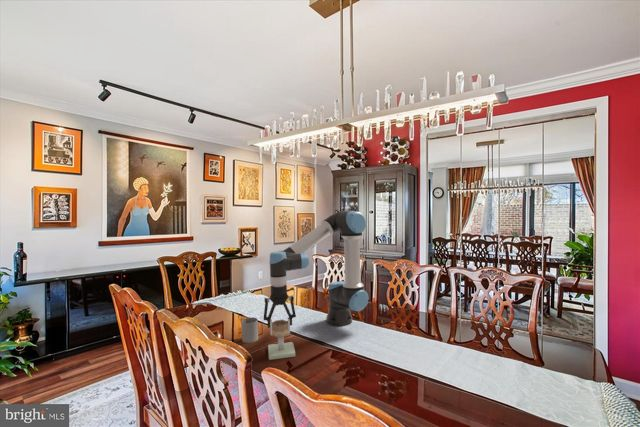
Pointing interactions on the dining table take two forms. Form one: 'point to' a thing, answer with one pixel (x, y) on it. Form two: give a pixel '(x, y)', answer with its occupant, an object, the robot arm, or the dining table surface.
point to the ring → (280, 328)
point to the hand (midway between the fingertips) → (280, 333)
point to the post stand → (281, 349)
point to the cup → (249, 330)
